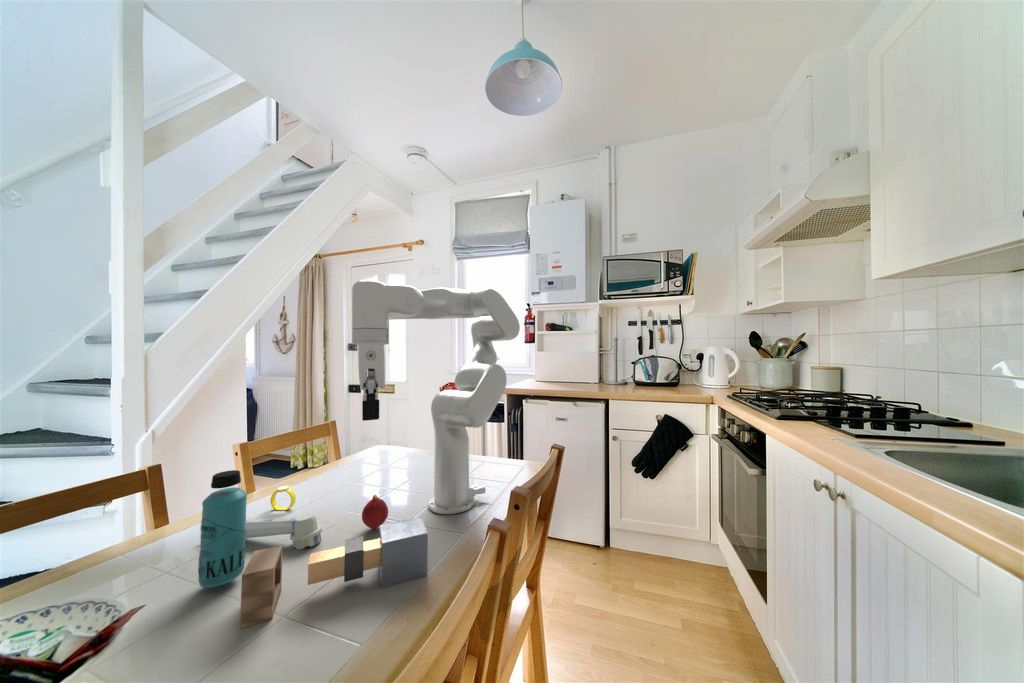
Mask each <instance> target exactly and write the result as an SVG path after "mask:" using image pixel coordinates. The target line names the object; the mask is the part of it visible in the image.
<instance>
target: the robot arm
mask: <svg viewBox="0 0 1024 683" xmlns="http://www.w3.org/2000/svg"><path fill="white" fill-rule="evenodd" d="M351 290H352V291H351V313H352V314H351V345H355V346H356V345H357V355H358V356H357V357H358V358H357V362H358V380H359V387H360V388H359V389H360V390H361V391H363V395H362V401H361V402H362V403H361V406H362V407H361V408H362V409H361V410H362V412H361V415H362V416H361V418H362V421H364V422H365V421H366V422H367V421H374V420H375V421H376V420H379V419H380V399H379V388H380V389H381V390H384V389H385V388H386V376H385V375H386V370H385V369H386V364H385V363H386V362H385V361H386V360H385V359H386V358H385V355H386V354H385V345H389V344H390V320H417V319H418V320H419V319H420V320H422V319H423V320H442V319H443V320H446V319H447V320H449V319H472V318H473V319H474V318H475V319H474V320H473V322H472V324H471V328H470V329H471V330H470V331H471V338H472V351H471V353H470V354H469V356H468V358H467V359H466V360H465V361H464V363H463V364H462V366H461V367H460V369H459V370H458V371H457V374H456V376H455V378H454V387H455V388H456V389H445V390H442V391H439V392H438V393H437V394H436V395H435V396H434V397H433V399H432V401H431V406H430V410H431V411H430V412H431V418H432V424H433V431H434V457H433V458H434V459H433V460H434V464H433V465H434V469H433V470H434V472H433V474H434V482H433V484H434V485H433V486H434V488H433V491H434V492H433V493H434V494H433V496H432V497H431V498H430V499H429V500H428V505H427V506H428V509H429V510H430V511H432V512H433V513H436V514H440V515H455V514H459V513H464V512H466V511H468V510H470V509H471V508H472V507H474V505H475V496H476V495H483V494H485V493H486V492H487V491H486V489H487V488H486V486H484V485H482V486H479V485H478V484H475V485H470V437H469V432H468V430H467V428H473V429H476V428H477V429H478V428H481V427H483V426H484V425H486V423H487V422H488V421H489V420H490V418H491V417H492V414H493V412H494V411H495V409H496V407H497V405H498V404H499V403H500V399H501V398H502V397H503V395H504V392H505V390H506V387H507V377H508V376H507V373H506V370H505V369H504V367H502V365H500V364H497V361H498V355H497V352H496V350H495V348H494V343H493V342H501V341H503V342H504V341H511V340H514V339H516V338H517V337H518V336H519V333H520V328H521V327H520V321H519V318H518V317H517V315H516V314H515V313H514V311H513V309H512V308H511V307H510V305H509V303H508V302H507V301H506V300H505V298H504V297H503V296H502V294H500V293H499V291H498V290H496V289H495V288H493V287H489V286H488V287H482V288H477V289H463V288H462V289H461V288H449V287H435V288H429V289H428V288H427V289H421V290H419V289H417V288H416V287H415V286H411V285H408V284H407V285H406V284H386V283H385V282H381V281H377V280H358V281H356V282H355V283H354V284H352V289H351Z"/></svg>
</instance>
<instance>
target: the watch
mask: <svg viewBox="0 0 1024 683" xmlns="http://www.w3.org/2000/svg"><path fill="white" fill-rule="evenodd" d="M284 492H286V493H288V495H289V497H290V501H291V502H290V503H289V506H288V507H283V506H282V507H280V506H279V505H278V504H277V501H276V497H277V494H278V493H284ZM295 503H296V494H295V492H294V490H293V489H291V488H290V485H284V486H283V485H282V486H280V487H277V489H276V491H274V492H273V493H272V495H271V496H270V505H271V507H272V509H273V510H274V511H276V510H287V511H289V510H290V509H291V508H292V507H293V506H294V505H295Z"/></svg>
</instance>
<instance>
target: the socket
mask: <svg viewBox="0 0 1024 683" xmlns="http://www.w3.org/2000/svg"><path fill="white" fill-rule="evenodd" d="M282 574H283V544H282V545H277V546H273V547H269V548H263V549H258V550H254V551H253V552H252V555H251V557H250V558H249V560H248V563H247V565H245V567H244V569H243V572H242V573H241V588H240V589H241V592H240V593H241V594H240V619H239V620H240V622H239V623H240V624H239V628H240V629H242V628H247V627H250V626H254V625H257V624H261V623H264V622H267V621H271V620H273V618H274V615H275V612H276V608H277V606H278V603H279V599H280V596H281V592H282V577H283V576H282Z"/></svg>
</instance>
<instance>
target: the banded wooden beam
mask: <svg viewBox="0 0 1024 683" xmlns="http://www.w3.org/2000/svg"><path fill="white" fill-rule="evenodd" d="M309 555H310V556H309V558H308V564H307V586H310V585H313V584H318V583H321V582H326V581H330V580H333V579H338V578H341V577H343V583H348V582H350V581H355V580H359V579H362V578H364V571H365V572H366V571H369V570H372V569H376V568H379V567H381V564H382V544H381V538H380V537H378V538H373V539H370V540H365V541H364V536H363V535H362V536H357V537H353V538H350V539H345V544H344V546H338V547H334V548H330V549H325V550H321V551H316V552H312V553H310V554H309Z"/></svg>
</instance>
